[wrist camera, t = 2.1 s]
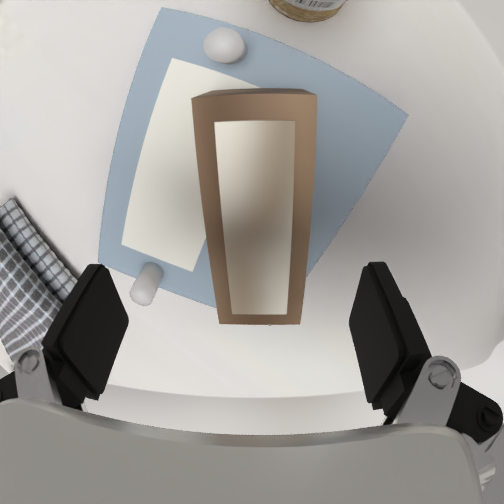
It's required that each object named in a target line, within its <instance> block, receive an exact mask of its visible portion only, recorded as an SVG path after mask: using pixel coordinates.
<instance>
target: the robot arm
mask: <svg viewBox="0 0 504 504" xmlns="http://www.w3.org/2000/svg"><path fill="white" fill-rule="evenodd" d="M128 323H129V319H128V315H127V313H126V311H125V308H124V306H123V304H122V302H121V299H120V297H119V294H118V292H117V290H116V287H115V285H114V282H113V280H112V277H111V275H110V272H109V270H108V269H107V268H105V266H104V265H103V264H89V265H88V266H87V267H86V269H85V270H84V272H83V273H82V275H81V276H80V278H79V279H78V281H77V282H76V284H75V286H74V287H73V289H72V290H71V292H70V293H69V295H68V297H67V298H66V300H65V302H64V303H63V305H62V307H61V308H60V310H59V312H58V313H57V315H56V317H55V318H54V320H53V322H52V324H51V325H50V327H49V329H48V331H47V333H46V334H45V336H44V338H43V340H42V342H41V344H42V345H43V349H42V350H41V349H40V348H38V347H36V346H31V347H28V348H26V349H24V350H23V351H22V352H21V353H20V354H19V355H18V357H17V358H16V361H15V368H14V369H15V371H13V372H12V373H10V374H8V375H7V376H5V377H3V378H2V379H0V504H504V424H503V414H502V411H501V408H500V407H499V405H498V404H497V403H496V402H494V401H493V400H492V399H490V398H488V397H486V396H485V395H483V394H481V393H479V392H478V391H476V390H474V389H473V388H471V387H469V386H467V385H466V384H464V383H462V382H460V381H461V374H460V370H459V368H458V366H457V365H456V364H455V363H454V362H453V361H452V360H451V359H449V358H447V357H444V356H434V357H432V356H431V353H430V351H429V348H428V346H427V343H426V341H425V339H424V336H423V334H422V332H421V329H420V327H419V325H418V323H417V320H416V318H415V316H414V314H413V312H412V309H411V307H410V305H409V303H408V301H407V300H406V298H404V297H402V295H401V292H400V290H399V288H398V286H397V284H396V282H395V280H394V278H393V276H392V274H391V272H390V270H389V268H388V266H387V265H386V263H385V262H369V263H368V265H367V266H364V267H363V270H362V274H361V278H360V281H359V285H358V289H357V293H356V297H355V300H354V304H353V307H352V311H351V314H350V318H349V327H350V331H351V335H352V339H353V342H354V346H355V351H356V355H357V359H358V363H359V367H360V372H361V376H362V381H363V385H364V390H365V394H366V399H367V402H368V403H372V407H373V410H376V409H383V411H384V415H386V417H385V418H384V420H383V422H382V423H381V425H380V426H376V427H367V428H360V429H353V430H344V431H334V432H323V433H311V434H294V435H230V434H212V433H201V432H190V431H182V430H174V429H166V428H159V427H153V426H146V425H141V424H136V423H131V422H126V421H121V420H116V419H112V418H108V417H104V416H100V415H95V414H92V413H88V411H87V408H86V405H85V403H84V399H85V397H87V398H89V399H94V400H98V399H99V396H100V394H102V393H103V392H104V389H105V386H106V384H107V381H108V378H109V375H110V372H111V369H112V366H113V364H114V361H115V358H116V355H117V353H118V350H119V347H120V345H121V342H122V339H123V337H124V334H125V332H126V329H127V327H128Z"/></svg>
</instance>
